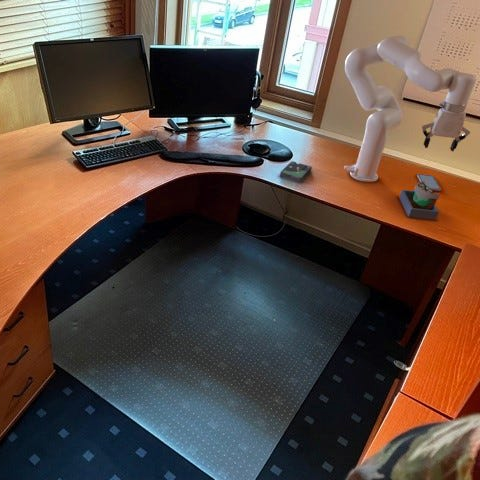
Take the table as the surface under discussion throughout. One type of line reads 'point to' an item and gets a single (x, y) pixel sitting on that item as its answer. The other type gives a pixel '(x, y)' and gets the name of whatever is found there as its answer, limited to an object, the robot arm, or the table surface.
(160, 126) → the table surface
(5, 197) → the table surface
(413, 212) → the rectangular frame
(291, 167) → the disk drive
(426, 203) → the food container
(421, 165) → the table surface
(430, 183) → the smartphone
